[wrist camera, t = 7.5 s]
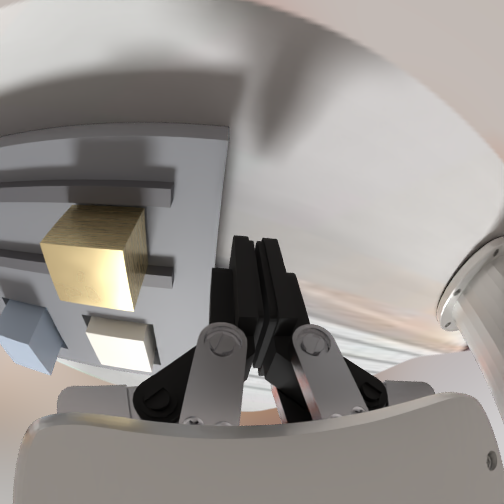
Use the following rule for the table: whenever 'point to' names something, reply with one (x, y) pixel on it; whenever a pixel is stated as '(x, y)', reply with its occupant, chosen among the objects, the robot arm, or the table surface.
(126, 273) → the slider knob
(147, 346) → the cream button
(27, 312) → the blue button
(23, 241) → the panel
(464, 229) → the table surface
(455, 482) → the robot arm
